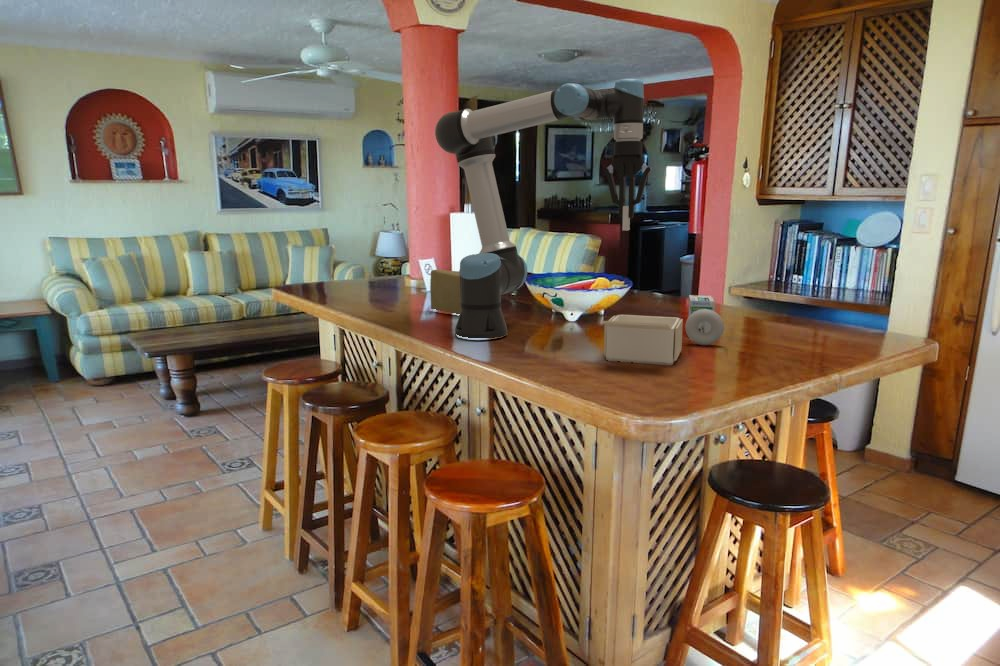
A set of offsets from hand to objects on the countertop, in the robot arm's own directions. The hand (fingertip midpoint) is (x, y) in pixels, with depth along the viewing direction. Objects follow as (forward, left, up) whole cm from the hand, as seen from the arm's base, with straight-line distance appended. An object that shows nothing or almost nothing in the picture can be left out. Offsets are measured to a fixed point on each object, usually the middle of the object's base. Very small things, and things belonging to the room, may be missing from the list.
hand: (626, 230), depth 188 cm
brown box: (-61, +21, -31) cm, 71 cm away
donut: (+22, -2, -31) cm, 38 cm away
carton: (+8, -19, -30) cm, 37 cm away
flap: (+8, -27, -21) cm, 35 cm away
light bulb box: (+20, +12, -31) cm, 39 cm away
